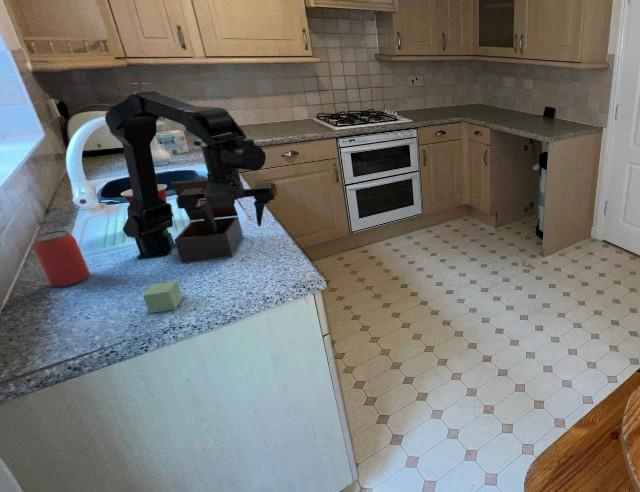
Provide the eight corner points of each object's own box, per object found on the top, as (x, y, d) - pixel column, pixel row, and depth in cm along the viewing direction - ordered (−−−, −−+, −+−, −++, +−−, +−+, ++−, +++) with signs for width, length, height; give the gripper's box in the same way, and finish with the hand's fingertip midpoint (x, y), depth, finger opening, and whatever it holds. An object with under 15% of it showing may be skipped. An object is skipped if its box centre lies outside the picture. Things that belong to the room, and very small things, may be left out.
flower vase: (190, 162, 192) (175, 108, 183) (141, 170, 178) (121, 113, 169) (180, 157, 199) (165, 106, 190) (132, 165, 185) (113, 110, 176)
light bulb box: (167, 156, 201) (161, 134, 197) (158, 154, 204) (152, 133, 200) (190, 151, 211) (184, 130, 207) (181, 150, 213) (175, 129, 209)
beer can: (56, 291, 92) (33, 244, 88) (47, 282, 95) (26, 236, 91) (95, 278, 97) (75, 233, 93) (85, 270, 101) (67, 226, 96)
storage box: (232, 256, 109) (226, 234, 106) (181, 263, 105) (174, 239, 102) (243, 237, 119) (238, 216, 117) (197, 242, 116) (191, 221, 113)
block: (149, 313, 85) (142, 295, 84) (158, 301, 89) (152, 284, 88) (175, 309, 87) (168, 291, 85) (182, 297, 91) (177, 280, 89)
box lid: (222, 179, 108) (225, 168, 111) (170, 183, 104) (175, 172, 108) (237, 215, 116) (240, 204, 120) (190, 220, 113) (194, 209, 116)
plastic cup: (164, 215, 133) (153, 180, 129) (185, 220, 129) (174, 185, 125) (125, 227, 124) (111, 191, 119) (146, 234, 120) (132, 196, 116)
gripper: (156, 179, 81) (178, 248, 87) (263, 172, 87) (276, 236, 93) (176, 165, 91) (195, 228, 96) (270, 159, 97) (283, 218, 103)
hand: (237, 228), depth 97 cm, fingers open, 9 cm apart
